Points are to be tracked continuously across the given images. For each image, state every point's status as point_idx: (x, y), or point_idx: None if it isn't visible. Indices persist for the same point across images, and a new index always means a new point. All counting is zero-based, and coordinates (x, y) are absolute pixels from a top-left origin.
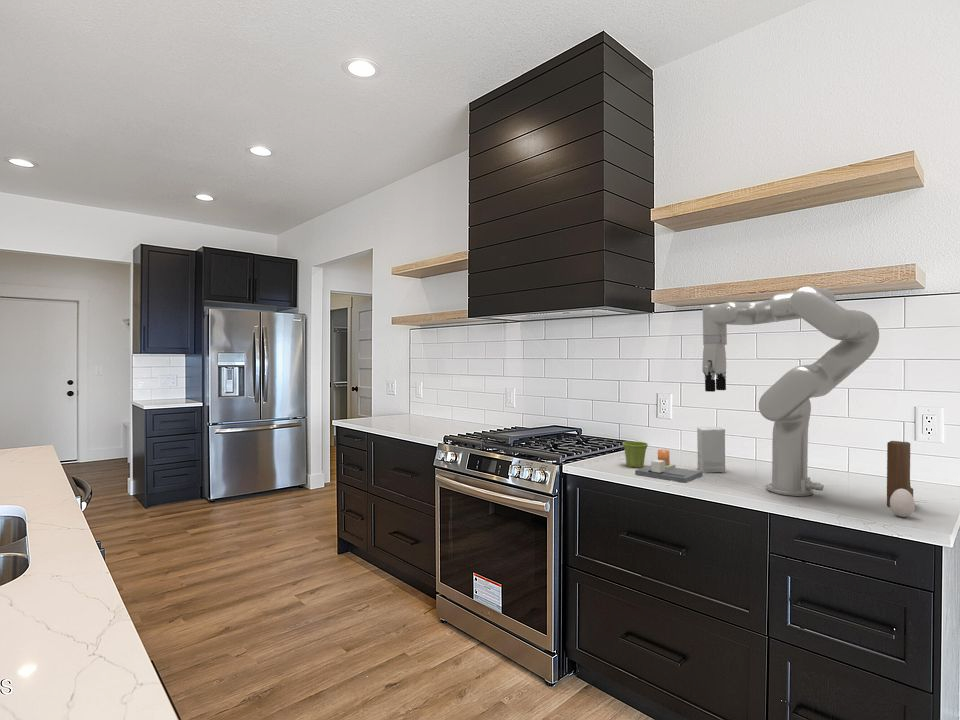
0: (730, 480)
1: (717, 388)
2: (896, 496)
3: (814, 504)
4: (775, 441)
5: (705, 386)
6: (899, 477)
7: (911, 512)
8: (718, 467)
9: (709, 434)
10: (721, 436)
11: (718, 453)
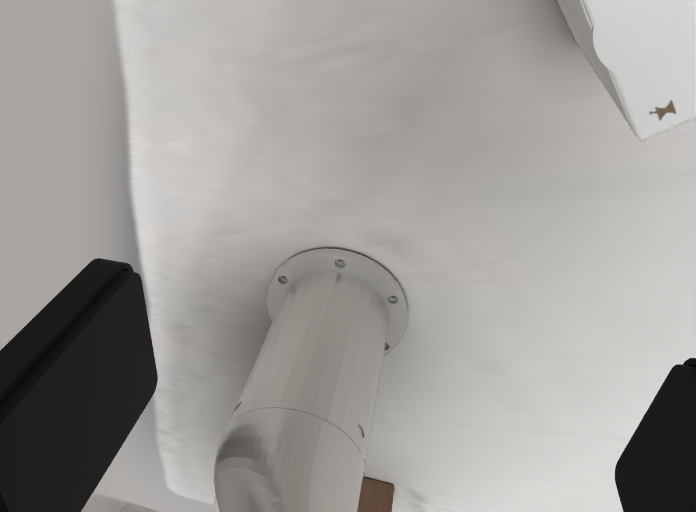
0: (397, 108)
1: (673, 398)
2: (216, 506)
3: (223, 355)
4: (238, 413)
5: (41, 316)
6: None
7: None
8: (565, 18)
9: (576, 6)
10: (612, 95)
11: (578, 39)
